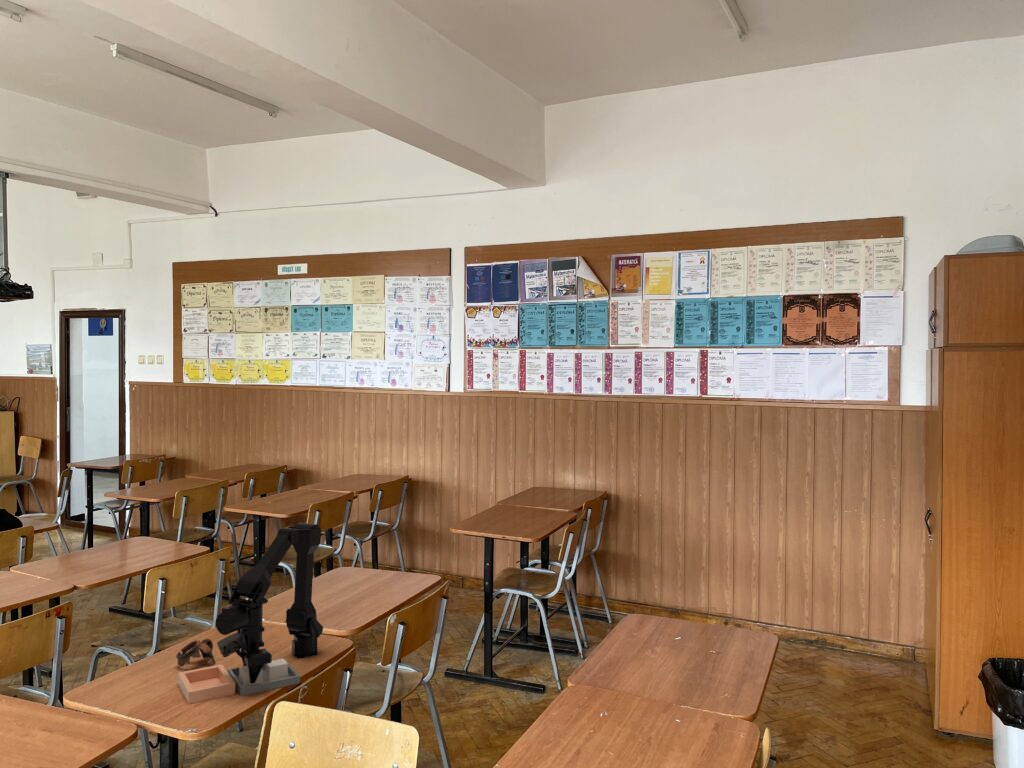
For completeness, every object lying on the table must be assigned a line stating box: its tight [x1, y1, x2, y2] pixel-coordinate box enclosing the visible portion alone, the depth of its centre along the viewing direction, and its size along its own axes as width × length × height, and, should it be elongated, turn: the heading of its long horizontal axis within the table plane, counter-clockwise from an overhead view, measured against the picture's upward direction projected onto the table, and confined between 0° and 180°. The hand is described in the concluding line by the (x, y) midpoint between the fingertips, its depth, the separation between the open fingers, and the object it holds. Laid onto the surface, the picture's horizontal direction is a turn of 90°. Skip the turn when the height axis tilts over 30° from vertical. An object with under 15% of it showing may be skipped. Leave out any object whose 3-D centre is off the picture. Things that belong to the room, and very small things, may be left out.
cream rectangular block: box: [238, 665, 262, 687], centre depth 205 cm, size 5×4×4 cm
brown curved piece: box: [175, 638, 216, 667], centre depth 218 cm, size 12×10×8 cm
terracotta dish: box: [177, 664, 236, 705], centre depth 201 cm, size 11×14×4 cm
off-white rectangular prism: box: [265, 658, 289, 681], centre depth 209 cm, size 5×4×4 cm
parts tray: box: [227, 657, 301, 697], centre depth 207 cm, size 16×15×3 cm
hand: (250, 680), depth 205 cm, fingers closed on cream rectangular block, 4 cm apart
